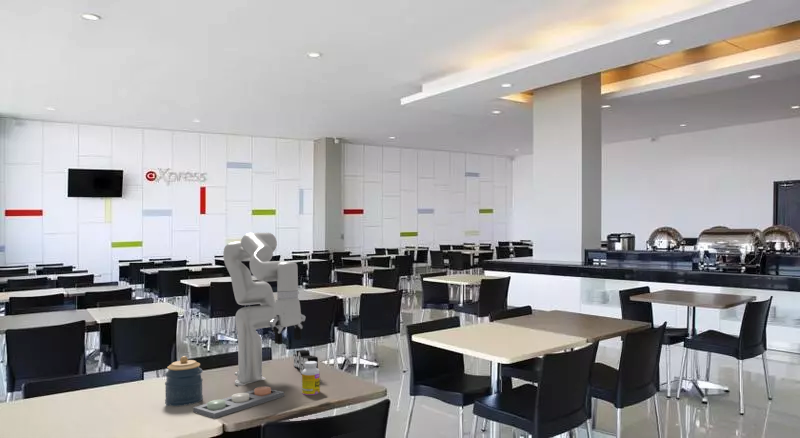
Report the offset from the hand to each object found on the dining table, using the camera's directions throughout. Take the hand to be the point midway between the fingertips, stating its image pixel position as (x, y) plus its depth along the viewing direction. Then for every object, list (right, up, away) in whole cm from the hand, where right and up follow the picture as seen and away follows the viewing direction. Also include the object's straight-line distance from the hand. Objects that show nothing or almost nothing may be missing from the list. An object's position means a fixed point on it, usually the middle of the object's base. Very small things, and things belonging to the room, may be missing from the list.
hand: (288, 341), depth 208 cm
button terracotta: (-9, -21, 0) cm, 23 cm away
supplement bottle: (+8, -22, +4) cm, 24 cm away
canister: (-38, -23, -3) cm, 44 cm away
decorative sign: (-1, -23, +41) cm, 47 cm away
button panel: (-15, -22, -8) cm, 28 cm away
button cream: (-15, -20, -8) cm, 27 cm away
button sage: (-21, -20, -16) cm, 34 cm away
